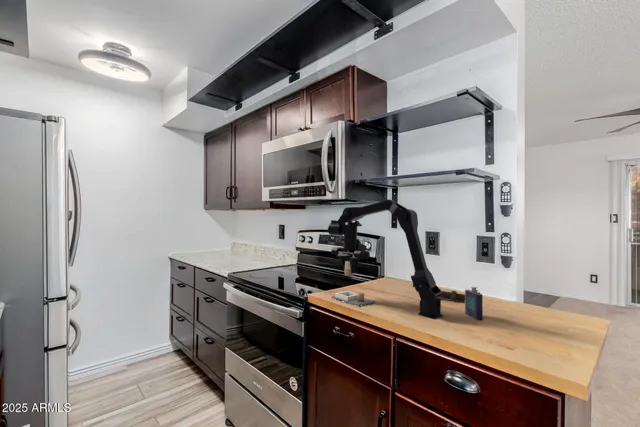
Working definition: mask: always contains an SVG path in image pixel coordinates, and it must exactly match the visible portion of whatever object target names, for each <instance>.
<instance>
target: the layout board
mask: <svg viewBox="0 0 640 427" xmlns="http://www.w3.org/2000/svg"><path fill="white" fill-rule="evenodd" d="M332 298H334V300H335V299H337V300H336V301H338V300H341V301H340V302H342V301H344V302H343V303H345V302H347V303H346V304H348V303H350V304H349V305H351V304H353V305H352V306H354V305H356V306H355V307H357V306H359V307H362V306H361V305H364V306H366V305H365V304H368V305H371V304H370V303H373V304H375V303H376V300H373V299H368V298H365V293H364V292H354V291H350V290H345V291H339V292H335V293H334V295H332V296H331V299H332Z"/></svg>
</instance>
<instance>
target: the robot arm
mask: <svg viewBox="0 0 640 427" xmlns="http://www.w3.org/2000/svg"><path fill="white" fill-rule="evenodd" d="M386 211H387V212H388V211H389V213H391V215H393V216H394V217H395V218H396V220H397V221H398V224H399V227H400V228H401V229H402V231H403V232H404V234H405V238H406V241H407V244H408V249H409V252H410V258H411V261H412V265H413V268H414V274H413V275H410V280H411V282H412V288H414V289H415V291H416V292H417V293H418V295H419V297H420V298H419V299H420V300H419V312H417V315H420V316H423V317H426V318H430V319H437V318H439V317H442V316H444V314H443V313H442V311H441V310H442V309H441V308H442V306H441V305H442V302H441V301H442V298H439V297H441V295H442V291H443V290H441V288H440V287H439V286H438V285H437V284H436V283H437V282H436V280H435V278H434V276H433V274H432V272H431V271H430V270H429V267H428V266H427V262H426V258H425V254H424V251H423V248H422V247H423V246H422V244H421V243H422V242H421V240H420V236H419V233H418V232H419V231H418V226H419V219H418V213H417V211H415V210H414V209H410V208H409V209H408V208H407V207H406V206H403V205H401V204H399V203H398V202H396V201H395V200H394V199H385V200H384V201H380V202H375V203H372V204H367V205H363V206H351V207H348V206H347V207H345V208H344V209H343V210H342V214H340V216H339V217H338V220H335V219H332V220H330V223H329V224H328V227H327V232H328V234H329V235H330V236H339V237H343V238H341V242H343V247H341V246H340V247H339V246H337V247H335V246H334V247H332V248H331V255H336V257H337V258H338V260H339V263H340V265H341V267H342V268H343V270H344V272H345V261H350V268H351V273H354V274H355V271H356V268H357V266H358V265H359V262H360V261H361V260H363V259H370V258H371V257H370V256H371V253H370V251H369V250H367V245H365V244H363V243H361V242H360V239H359V238H358V227H362V226H363V224H362V223H360V221H359V220H361V219H363V218H364V217H366V216H370V215H374V214H377V213H379V214H380V213H381V212H382V213H383V212H386ZM351 256H352V257H351Z"/></svg>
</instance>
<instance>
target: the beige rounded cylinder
mask: <svg viewBox="0 0 640 427" xmlns="http://www.w3.org/2000/svg"><path fill="white" fill-rule="evenodd" d="M344 276H346V277H354V276H355V272H354V273H351V268H350V261H349V260H348V261H345V271H344Z"/></svg>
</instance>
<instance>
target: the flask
mask: <svg viewBox="0 0 640 427" xmlns="http://www.w3.org/2000/svg"><path fill="white" fill-rule="evenodd" d="M464 295H465V301H464V313H465V315H467V316H469V317H471V318H473V319H475V320H476V321H479V322H481V321H484V315H483V314H484V311H483V310H484V309H483V294H482V293H481V292H480V291H479V290H478V287H477V286H476V287H474V286H473V287H471V289H465V290H464Z"/></svg>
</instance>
